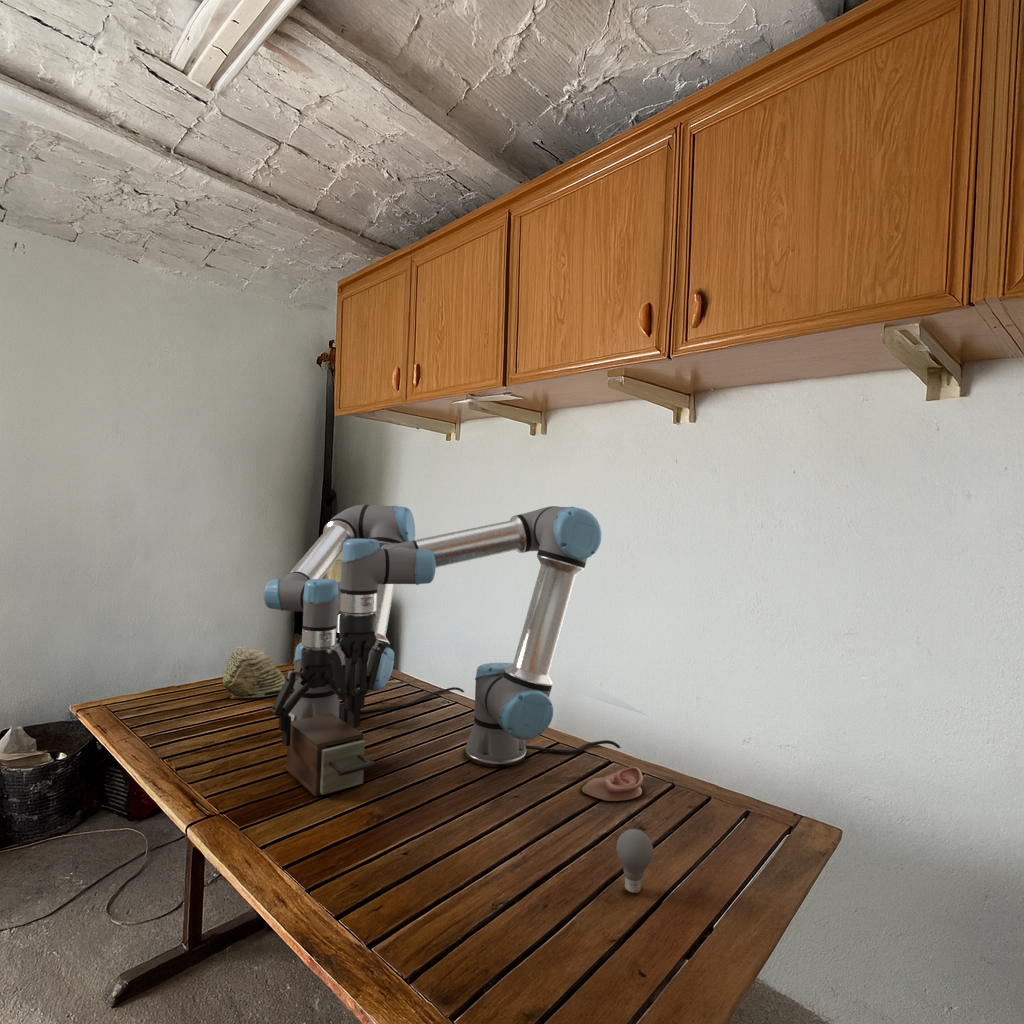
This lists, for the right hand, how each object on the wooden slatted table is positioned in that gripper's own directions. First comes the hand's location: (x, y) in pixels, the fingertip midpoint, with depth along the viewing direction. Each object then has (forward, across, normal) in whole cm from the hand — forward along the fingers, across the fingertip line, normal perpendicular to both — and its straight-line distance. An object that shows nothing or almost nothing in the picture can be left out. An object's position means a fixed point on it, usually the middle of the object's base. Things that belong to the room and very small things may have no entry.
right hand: (353, 724), depth 133 cm
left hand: (+9, 0, +18) cm, 20 cm away
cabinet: (+16, 0, +14) cm, 21 cm away
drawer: (+15, 0, +8) cm, 17 cm away
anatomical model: (+16, +49, -30) cm, 59 cm away
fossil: (+16, +7, +80) cm, 82 cm away
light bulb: (+16, +23, -56) cm, 63 cm away
